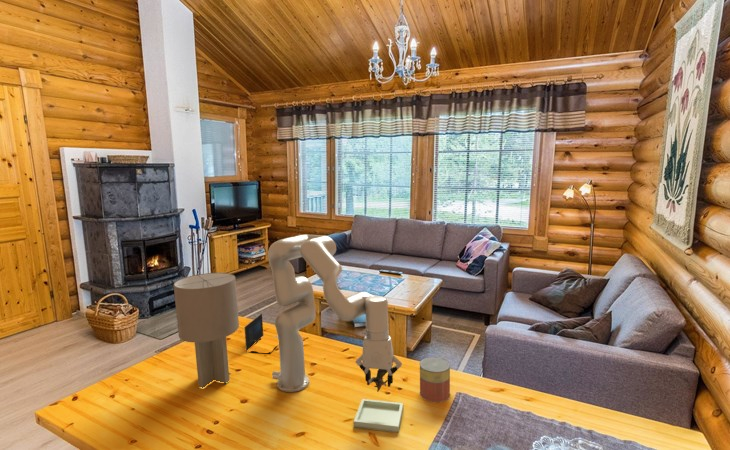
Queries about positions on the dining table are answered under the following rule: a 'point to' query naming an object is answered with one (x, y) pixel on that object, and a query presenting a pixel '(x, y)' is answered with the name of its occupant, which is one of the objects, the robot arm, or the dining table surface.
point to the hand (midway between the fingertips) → (379, 383)
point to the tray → (379, 415)
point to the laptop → (254, 331)
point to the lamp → (207, 321)
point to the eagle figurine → (379, 379)
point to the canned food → (435, 379)
